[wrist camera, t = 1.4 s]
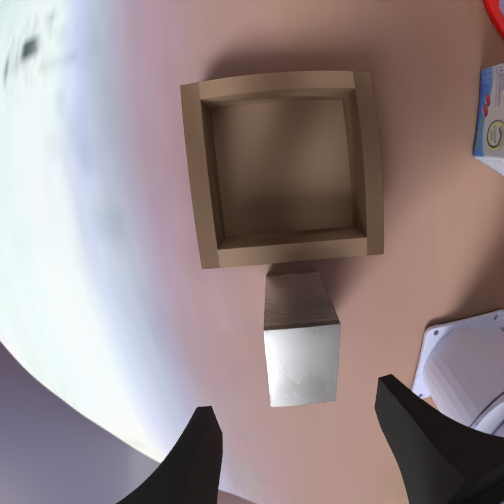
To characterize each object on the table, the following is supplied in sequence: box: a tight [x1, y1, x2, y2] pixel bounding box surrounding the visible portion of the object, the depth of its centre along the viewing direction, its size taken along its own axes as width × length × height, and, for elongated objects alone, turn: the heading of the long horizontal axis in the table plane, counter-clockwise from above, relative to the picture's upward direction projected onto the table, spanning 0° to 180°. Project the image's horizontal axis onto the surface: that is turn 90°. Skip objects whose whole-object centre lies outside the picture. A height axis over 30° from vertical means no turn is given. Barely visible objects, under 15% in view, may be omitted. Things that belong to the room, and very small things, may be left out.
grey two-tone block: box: [264, 272, 341, 407], centre depth 17 cm, size 4×5×7 cm
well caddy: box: [180, 71, 384, 269], centre depth 16 cm, size 10×10×4 cm
